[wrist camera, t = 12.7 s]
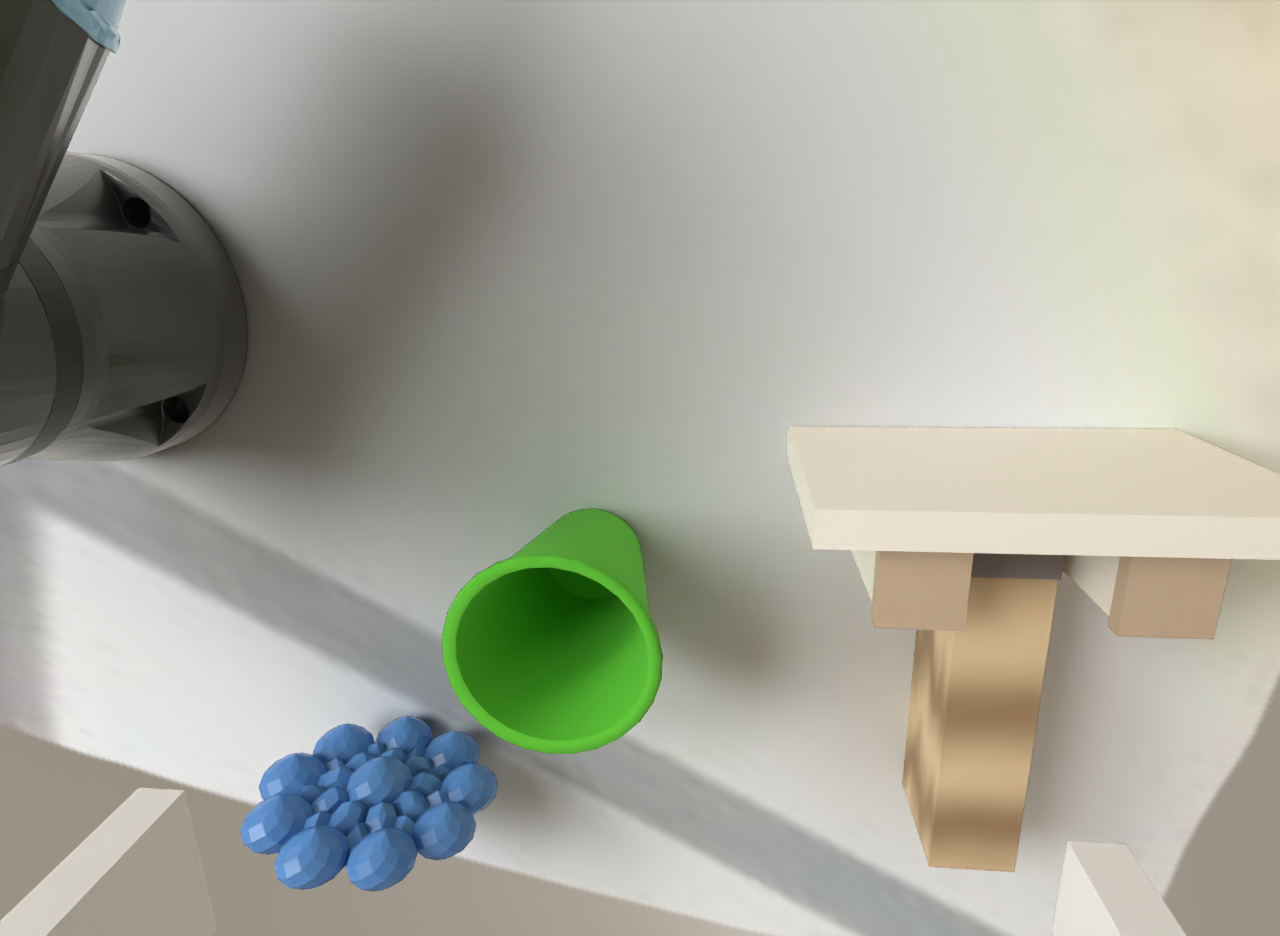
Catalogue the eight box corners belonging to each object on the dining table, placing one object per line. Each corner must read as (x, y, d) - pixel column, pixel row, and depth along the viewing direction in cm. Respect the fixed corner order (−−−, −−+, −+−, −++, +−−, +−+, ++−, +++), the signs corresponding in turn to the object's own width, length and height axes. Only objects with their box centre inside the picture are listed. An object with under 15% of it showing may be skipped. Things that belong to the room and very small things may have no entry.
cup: (585, 655, 43) (540, 791, 33) (478, 535, 42) (395, 637, 31) (712, 568, 41) (708, 684, 30) (603, 437, 39) (560, 511, 29)
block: (929, 480, 38) (966, 525, 32) (1016, 481, 38) (1068, 526, 32) (901, 783, 43) (928, 868, 38) (976, 787, 43) (1016, 873, 37)
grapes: (321, 761, 47) (192, 929, 36) (328, 667, 45) (195, 815, 34) (503, 806, 47) (432, 991, 35) (520, 713, 45) (450, 879, 33)
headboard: (783, 533, 40) (807, 654, 28) (788, 426, 38) (814, 509, 27) (1154, 540, 38) (1339, 674, 26) (1175, 428, 36) (1382, 519, 25)
